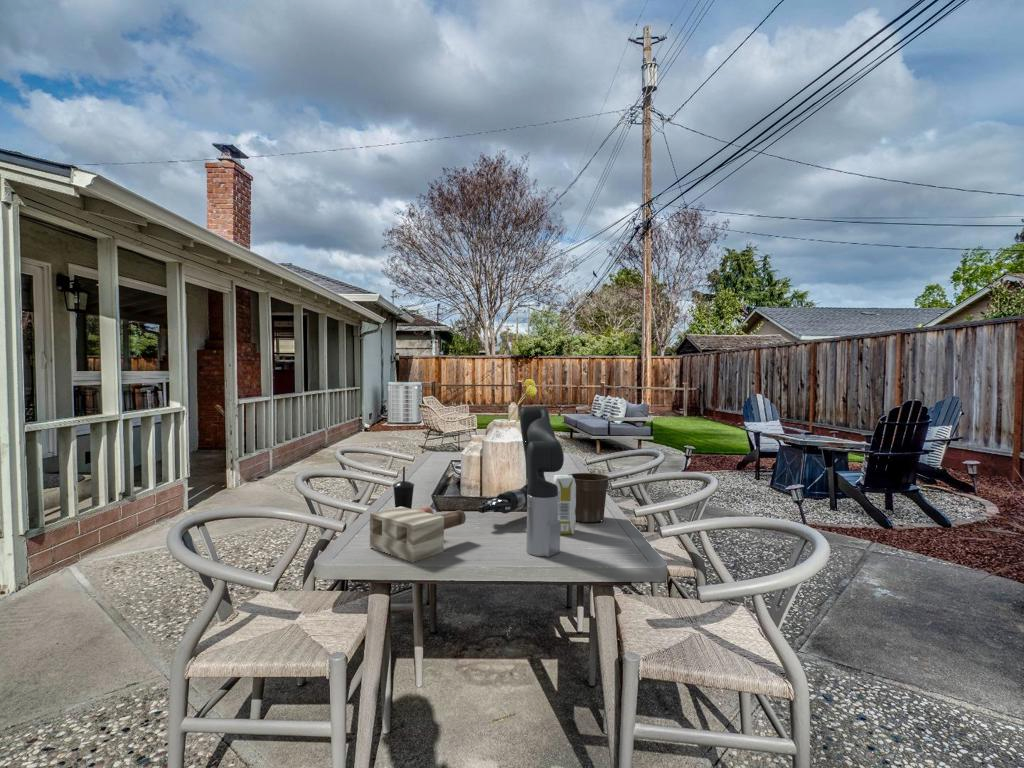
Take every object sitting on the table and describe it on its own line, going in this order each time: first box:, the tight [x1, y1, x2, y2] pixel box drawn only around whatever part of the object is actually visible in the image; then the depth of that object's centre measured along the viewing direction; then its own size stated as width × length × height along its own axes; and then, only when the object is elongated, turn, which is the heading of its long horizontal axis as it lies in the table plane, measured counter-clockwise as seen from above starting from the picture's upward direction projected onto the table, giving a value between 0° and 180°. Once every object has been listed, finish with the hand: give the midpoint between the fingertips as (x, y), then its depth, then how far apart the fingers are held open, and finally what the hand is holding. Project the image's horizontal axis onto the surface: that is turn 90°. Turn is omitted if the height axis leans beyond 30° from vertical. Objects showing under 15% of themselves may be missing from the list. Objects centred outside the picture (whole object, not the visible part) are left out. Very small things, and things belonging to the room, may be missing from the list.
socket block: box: [369, 507, 445, 563], centre depth 154 cm, size 20×12×10 cm, turn 52°
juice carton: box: [552, 474, 577, 535], centre depth 176 cm, size 8×9×19 cm
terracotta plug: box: [416, 506, 434, 514], centre depth 163 cm, size 5×16×5 cm, turn 143°
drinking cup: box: [392, 466, 415, 509], centre depth 184 cm, size 8×8×20 cm
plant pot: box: [567, 472, 611, 523], centre depth 193 cm, size 16×16×16 cm
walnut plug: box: [439, 509, 467, 531], centre depth 160 cm, size 5×16×5 cm, turn 142°
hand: (480, 509), depth 176 cm, fingers closed
